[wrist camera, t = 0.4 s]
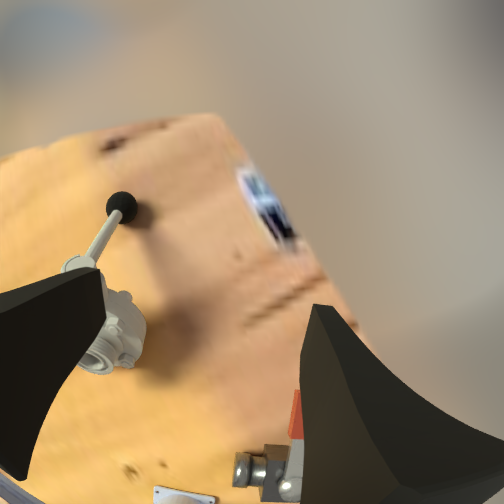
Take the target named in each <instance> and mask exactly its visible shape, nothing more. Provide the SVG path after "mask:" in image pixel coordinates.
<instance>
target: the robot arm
mask: <svg viewBox="0 0 504 504" xmlns="http://www.w3.org/2000/svg"><path fill="white" fill-rule="evenodd" d="M106 319H107V316H106V310H105V303H104V297H103V290H102V283H101V275H100V269H96V268H91V267H81V268H77V269H73V270H70V271H67V272H64V273H61V274H58V275H55V276H52V277H49V278H46V279H43V280H41V281H38V282H35V283H32V284H29V285H26V286H23V287H20V288H17V289H14V290H11V291H7V292H4V293H0V468H1V469H2V470H4V471H5V472H6V473H8V474H9V475H10V476H12V477H13V478H15V479H16V480H17V481H24V480H26V479H27V474H28V469H29V465H30V461H31V457H32V453H33V450H34V446H35V443H36V440H37V438H38V435H39V432H40V429H41V427H42V424H43V422H44V420H45V417H46V415H47V413H48V410H49V408H50V406H51V404H52V402H53V401H54V399H55V397H56V395H57V393H58V391H59V389H60V388H61V386H62V385H63V383H64V381H65V380H66V379H67V377H68V376H69V374H70V373H71V372H72V370H73V369H74V368H75V366H76V365H77V364H78V362H79V361H80V360H81V358H82V357H83V356H84V354H85V353H86V351H87V350H88V349H89V347H90V346H91V345H92V343H93V342H94V341H95V339H96V337H97V336H98V334H99V332H100V330H101V328H102V326H103V325H104V323H105V321H106ZM299 382H300V394H301V407H302V419H303V432H304V461H303V477H302V488H301V499H300V504H483V503H484V502H485V501H487V500H488V499H489V498H491V497H492V496H493V495H495V494H496V493H497V492H498V491H500V490H501V489H502V488H503V487H504V441H503V440H501V439H498V438H496V437H493V436H491V435H488V434H486V433H483V432H481V431H479V430H477V429H474V428H472V427H470V426H468V425H466V424H464V423H463V422H461V421H459V420H457V419H455V418H454V417H452V416H450V415H448V414H446V413H445V412H443V411H442V410H440V409H439V408H437V407H435V406H434V405H433V404H431V403H430V402H428V401H427V400H425V399H424V398H423V397H421V396H420V395H418V394H417V393H416V392H414V391H413V390H412V389H411V388H409V387H408V386H407V385H406V384H405V383H403V382H402V381H401V380H400V379H399V378H398V377H396V376H395V375H394V374H393V373H392V372H391V371H390V370H389V369H388V368H387V367H386V366H385V365H384V364H383V363H382V362H381V361H380V360H379V359H378V358H377V357H376V356H375V355H374V354H373V353H372V352H371V351H370V350H369V349H368V348H367V347H366V346H365V344H364V343H363V342H362V341H361V340H360V339H359V338H358V336H357V335H356V334H355V333H354V332H353V330H352V329H351V328H350V327H349V326H348V324H347V323H346V322H345V321H344V319H343V318H342V317H341V316H340V314H339V313H338V312H337V311H336V310H335V308H334V307H333V306H328V305H320V304H313V307H312V311H311V315H310V319H309V323H308V327H307V331H306V335H305V339H304V342H303V346H302V350H301V354H300V377H299ZM157 491H159V492H157ZM0 497H2V498H3V499H4V500H6V501H7V502H8V503H10V504H45V503H44V502H42V501H40V500H39V499H37V498H36V497H34V496H32V495H31V494H29V493H28V492H26V491H25V490H23V489H22V488H20V487H19V486H18V485H16V484H15V483H13V482H12V481H11V480H9V479H8V478H7V477H5V476H4V475H3V474H1V473H0ZM210 501H212V503H210ZM153 504H215V497H213V496H208V495H202V494H196V493H190V492H185V491H180V490H175V489H171V488H166V487H162V486H155V487H154V500H153Z"/></svg>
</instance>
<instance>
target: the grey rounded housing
mask: <svg viewBox="0 0 504 504" xmlns="http://www.w3.org/2000/svg"><path fill="white" fill-rule="evenodd" d="M106 212H107V215H108V217H109V218H108V219H107V221H106V222H105V224H104V225H103V227H102V228H101V230H100V231H99V233H98V235H97V236H96V238H95V239H94V241H93V242H92V244H91V246H90V247H89V249H88V251H87V252H86V254H85V256H80V254H78V255H75V256H73V257H71V258H70V259H68V260H67V261H66V262H65V263H64V264H63V266H62V268H61V273H64V272H67V271H70V270H73V269H77V268H81V267H91V268H96V269H97V267H96V263H97V261H98V259H99V257H100V255H101V253H102V251H103V250H104V248H105V246H106V244H107V242H108V241H109V239H110V237H111V235H112V234H113V232H114V230H115V229H116V227H117V225H118V224H126V223H128V222H130V221H131V220H132V219H133V218H134V217H135V215H136V213H137V202H136V200H135V198H134V197H133V196H132V195H131V194H129V193H128V192H123V191H121V192H117V193H115V194H113V195H112V196H111V197H110V198H109V199H108V201H107V205H106ZM100 275H101V283H102V290H103V297H104V303H105V310H106V316H107V319H106V321H105V323H104V325H103V326H102V328H101V330H100V332H99V334H98V336H97V337H96V339H95V341H94V342H93V343H92V345H91V346H90V347H89V349H88V350H87V351H86V353H85V354H84V356H83V357H82V358H81V360H80V361H79V362H78V364H77V366H79V367H80V368H82V369H84V370H86V371H88V372H90V373H94V374H98V375H106V374H109V373H111V372H112V371H113V368H114V366H122V367H124V368H128V369H130V368H133V367H134V365H135V361H137V360H138V359H139V357H140V356H141V353H142V349H143V344H144V340H145V335H146V330H147V326H146V321H145V318H144V316H143V315H142V313H141V311H140V310H139V309H138V308H137V307H136V305H134V304H133V303H132V302H131V301H132V295H131V294H130V293H129V292H127V291H119V292H118V293H117V292H116V291H114V290H111V289H108V288H107V286H106V282H105V278H104V275H103V274H102V273H101V272H100Z"/></svg>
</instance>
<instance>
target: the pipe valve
mask: <svg viewBox="0 0 504 504" xmlns="http://www.w3.org/2000/svg"><path fill="white" fill-rule="evenodd" d="M288 449H289V446H284V445H268V444H265V446H264V451H263V457H257V456H251V454H249V453H240V452H236V456H235V462H234V469H233V478H232V487H238V488H247V486H252V487H259V494H260V501H261V502H288V501H285V500H283V499H282V498H281V497H280V494H279V490H278V482H279V480H280V479H281V478H282V477H283V474H284V469H285V464H286V459H287V454H288ZM296 502H300V501H296ZM290 503H295V502H290Z"/></svg>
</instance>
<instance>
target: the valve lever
mask: <svg viewBox="0 0 504 504" xmlns="http://www.w3.org/2000/svg"><path fill="white" fill-rule="evenodd" d="M288 435H289V437H290V443H289V449H288V454H287V459H286V464H285V469H284V474H283V477H282V478H281V479H280V480H279V482H278V490H279V494H280V497H281V498H282V499H283V500H285V501H288V502H296V501H300V499H301V488H302V477H303V461H304V432H303V419H302V407H301V394H300V390H295V393H294V400H293V406H292V412H291V418H290V424H289V430H288Z"/></svg>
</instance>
